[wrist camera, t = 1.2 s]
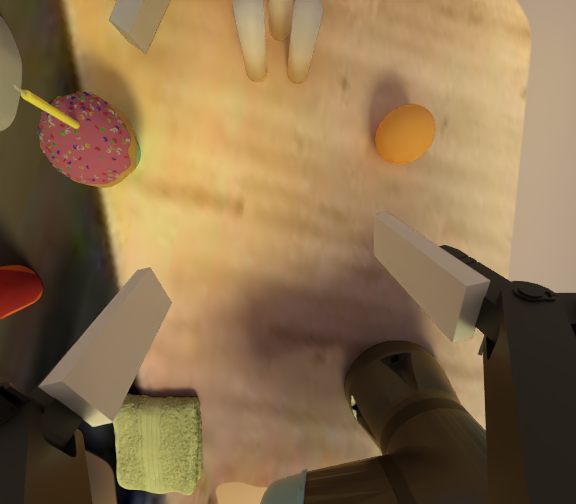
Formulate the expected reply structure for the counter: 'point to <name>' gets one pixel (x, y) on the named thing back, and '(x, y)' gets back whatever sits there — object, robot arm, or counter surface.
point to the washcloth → (159, 444)
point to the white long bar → (138, 20)
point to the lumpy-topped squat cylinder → (8, 76)
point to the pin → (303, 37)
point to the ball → (405, 134)
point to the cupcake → (86, 138)
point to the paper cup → (18, 288)
